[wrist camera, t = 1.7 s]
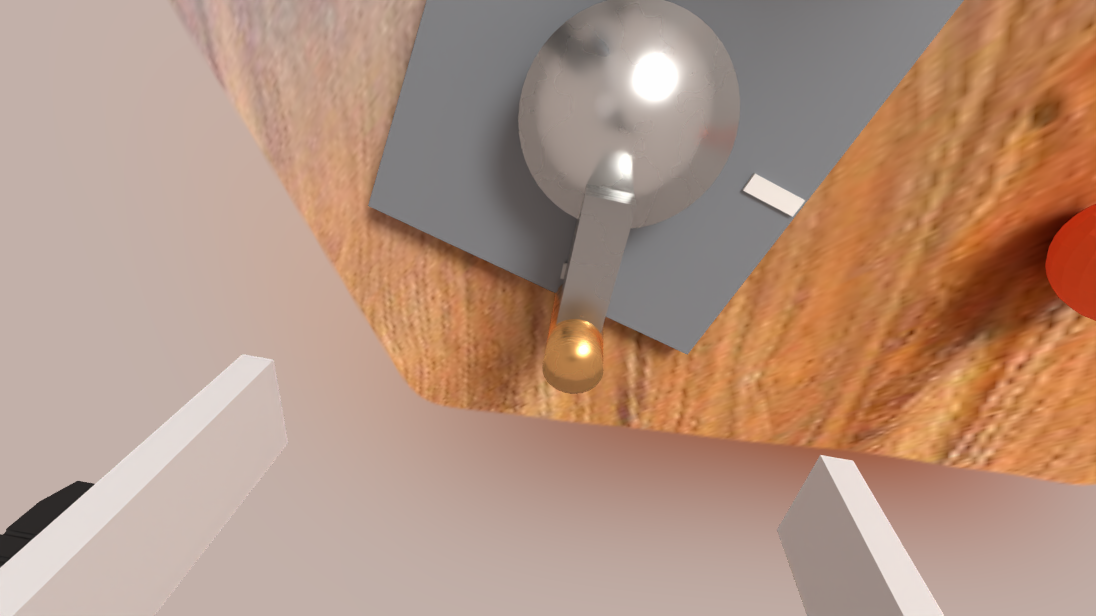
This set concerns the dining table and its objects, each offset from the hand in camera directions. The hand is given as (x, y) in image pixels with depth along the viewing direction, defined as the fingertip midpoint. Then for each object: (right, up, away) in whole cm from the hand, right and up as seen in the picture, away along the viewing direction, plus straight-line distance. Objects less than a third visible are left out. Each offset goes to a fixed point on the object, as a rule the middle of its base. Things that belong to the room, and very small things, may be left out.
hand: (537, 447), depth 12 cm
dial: (+3, +10, +15) cm, 18 cm away
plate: (+4, +14, +14) cm, 21 cm away
